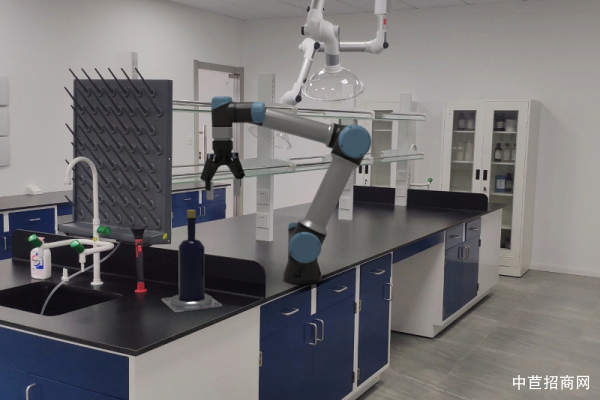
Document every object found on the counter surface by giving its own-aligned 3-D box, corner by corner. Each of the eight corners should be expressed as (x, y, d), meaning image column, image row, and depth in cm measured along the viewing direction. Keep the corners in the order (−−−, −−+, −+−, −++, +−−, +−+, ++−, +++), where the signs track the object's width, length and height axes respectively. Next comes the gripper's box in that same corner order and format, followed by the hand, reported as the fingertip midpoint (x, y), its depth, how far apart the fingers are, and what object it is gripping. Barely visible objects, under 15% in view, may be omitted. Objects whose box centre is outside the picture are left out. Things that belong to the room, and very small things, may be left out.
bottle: (196, 293, 219) (196, 208, 215) (210, 299, 212) (210, 210, 208) (172, 297, 213) (172, 209, 209) (186, 303, 206) (186, 212, 202)
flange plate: (206, 295, 223) (206, 290, 223) (222, 306, 209) (222, 301, 209) (161, 300, 216) (161, 295, 215) (175, 312, 202) (175, 307, 201)
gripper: (239, 139, 240) (240, 194, 242) (189, 140, 220) (191, 200, 223) (253, 139, 235) (254, 195, 237) (203, 140, 216) (205, 201, 218)
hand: (223, 197), depth 230 cm, fingers open, 13 cm apart
